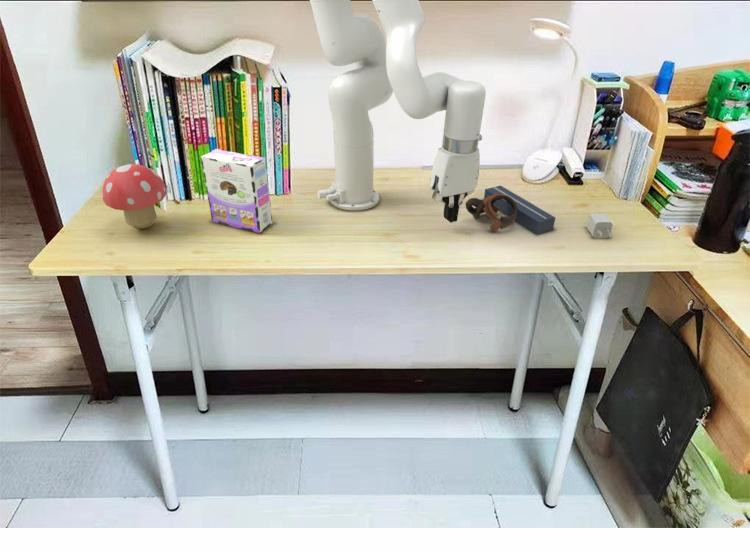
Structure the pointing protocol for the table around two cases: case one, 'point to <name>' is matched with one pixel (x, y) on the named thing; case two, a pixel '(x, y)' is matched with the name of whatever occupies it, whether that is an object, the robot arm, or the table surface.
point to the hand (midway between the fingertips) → (450, 219)
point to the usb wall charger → (599, 225)
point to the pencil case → (523, 211)
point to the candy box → (237, 189)
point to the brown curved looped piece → (492, 210)
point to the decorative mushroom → (134, 193)
